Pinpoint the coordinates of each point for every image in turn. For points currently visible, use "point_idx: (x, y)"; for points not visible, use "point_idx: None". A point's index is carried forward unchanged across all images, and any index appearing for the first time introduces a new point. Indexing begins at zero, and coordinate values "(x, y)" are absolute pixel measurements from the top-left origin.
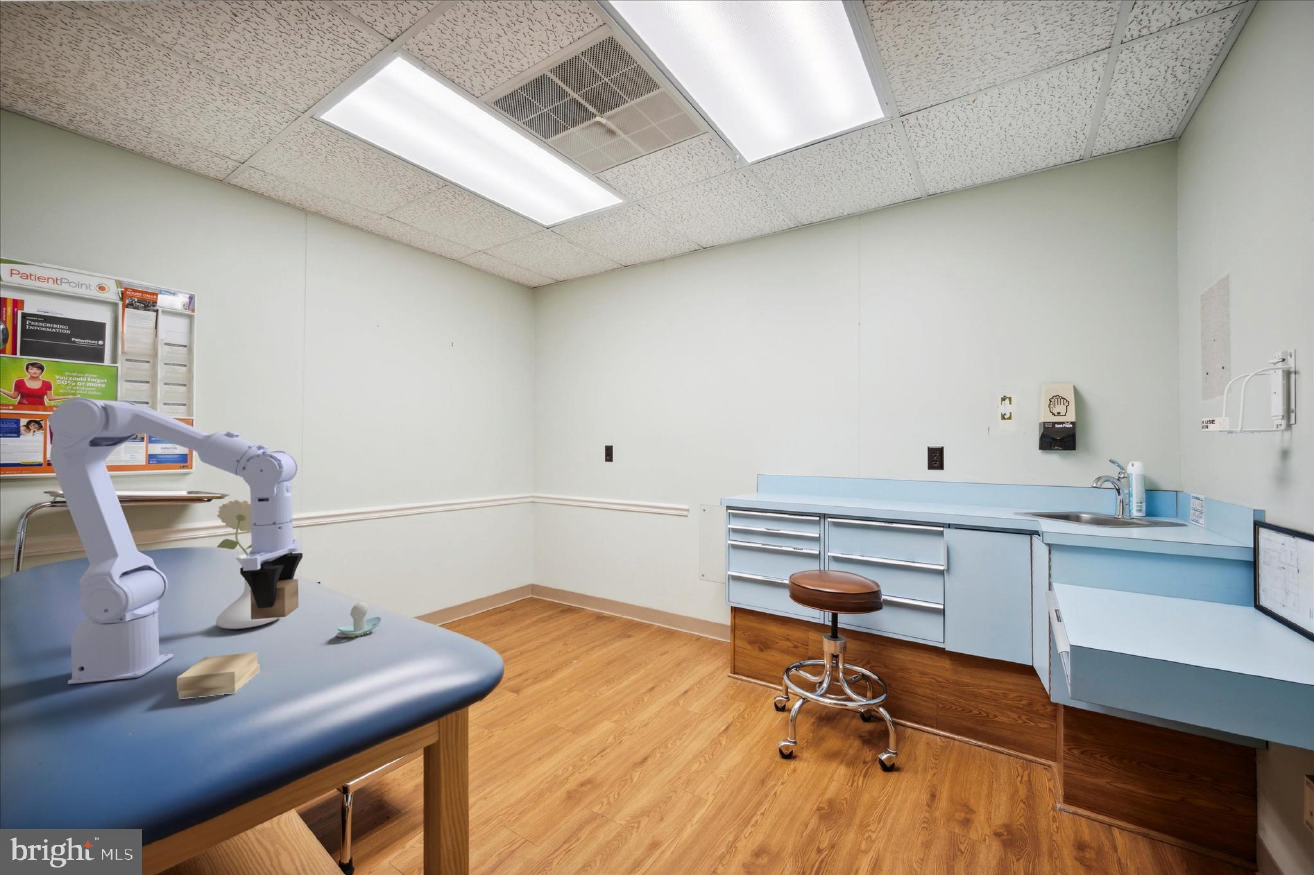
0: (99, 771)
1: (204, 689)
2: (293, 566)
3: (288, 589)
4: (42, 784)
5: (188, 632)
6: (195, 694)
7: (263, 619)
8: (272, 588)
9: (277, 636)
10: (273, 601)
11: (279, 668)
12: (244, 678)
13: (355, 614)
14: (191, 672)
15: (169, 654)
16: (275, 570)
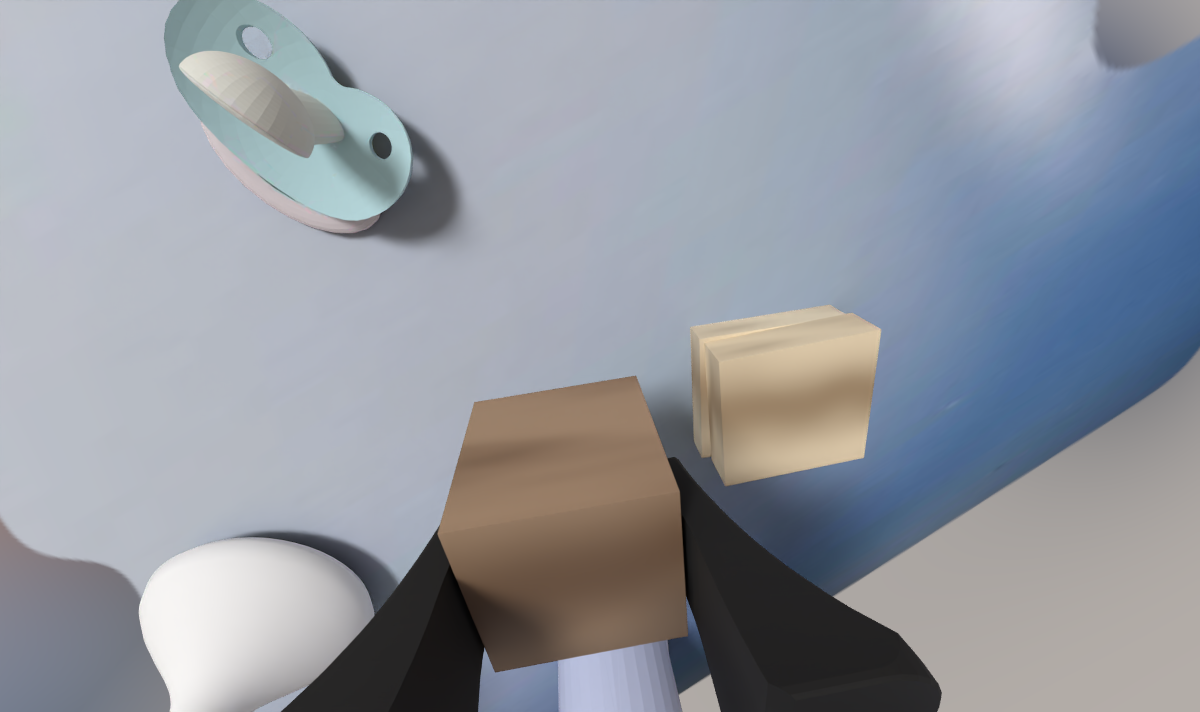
0: (1101, 347)
1: None
2: (408, 678)
3: (613, 477)
4: (1089, 409)
5: None
6: None
7: (310, 559)
8: (744, 533)
9: (384, 454)
10: (681, 472)
11: (669, 282)
12: (791, 321)
13: (308, 116)
14: (838, 446)
15: None
16: (912, 654)
